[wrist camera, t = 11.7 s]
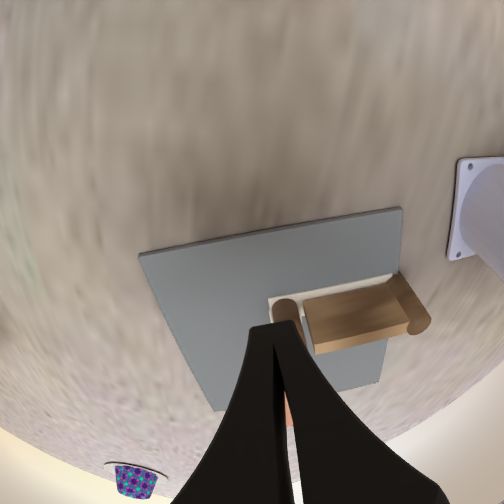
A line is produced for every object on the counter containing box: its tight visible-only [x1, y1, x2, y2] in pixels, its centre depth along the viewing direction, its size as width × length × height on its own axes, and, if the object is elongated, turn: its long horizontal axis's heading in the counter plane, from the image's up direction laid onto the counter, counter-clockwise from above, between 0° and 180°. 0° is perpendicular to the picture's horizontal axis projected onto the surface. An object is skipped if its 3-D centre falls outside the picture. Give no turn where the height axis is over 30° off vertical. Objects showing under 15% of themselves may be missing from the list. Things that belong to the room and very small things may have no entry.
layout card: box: [138, 207, 403, 412], centre depth 23 cm, size 17×19×1 cm
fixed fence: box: [271, 272, 431, 355], centre depth 20 cm, size 10×2×5 cm, turn 100°
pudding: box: [104, 463, 168, 499], centre depth 40 cm, size 12×12×5 cm
